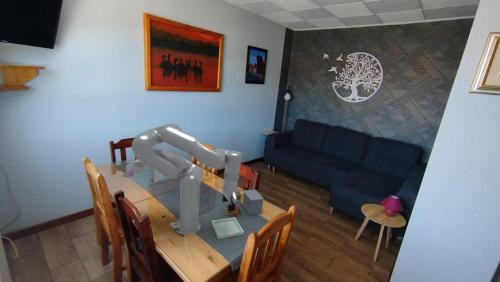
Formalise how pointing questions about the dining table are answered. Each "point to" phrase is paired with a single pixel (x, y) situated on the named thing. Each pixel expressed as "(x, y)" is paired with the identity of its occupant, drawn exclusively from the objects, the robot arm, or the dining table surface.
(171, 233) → the dining table surface
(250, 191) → the block
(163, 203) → the dining table surface
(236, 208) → the candy box
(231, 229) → the tray
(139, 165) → the casing
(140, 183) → the dining table surface
